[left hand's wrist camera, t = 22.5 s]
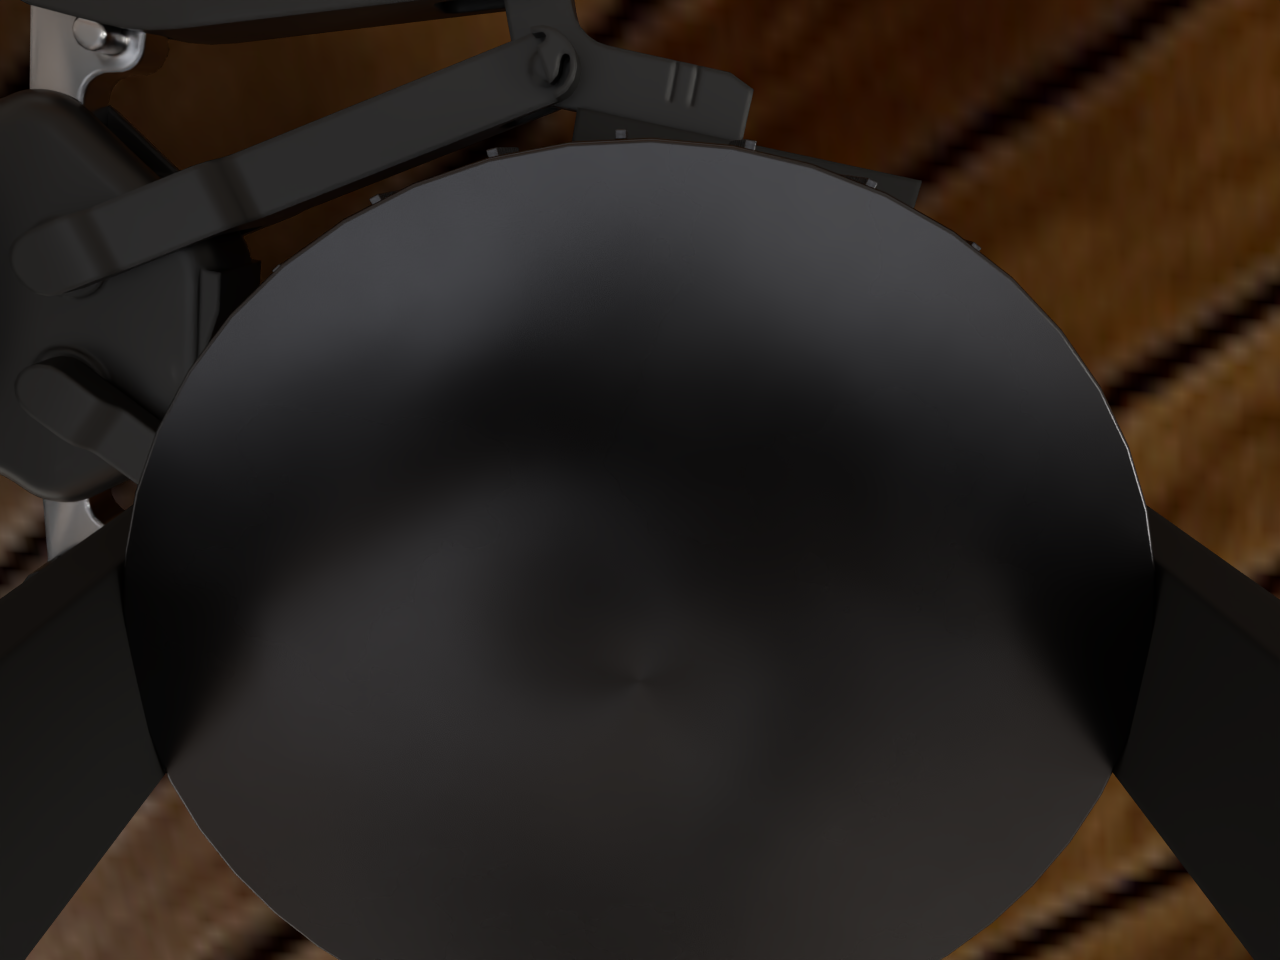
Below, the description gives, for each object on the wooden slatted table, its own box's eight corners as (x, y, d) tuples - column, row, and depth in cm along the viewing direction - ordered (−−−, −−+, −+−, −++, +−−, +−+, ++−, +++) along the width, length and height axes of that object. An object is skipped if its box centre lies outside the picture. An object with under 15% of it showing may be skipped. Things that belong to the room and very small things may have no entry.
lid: (56, 647, 12) (-64, 749, 10) (551, -109, 9) (524, -184, 7) (692, 1022, 15) (701, 1166, 13) (1253, 526, 12) (1385, 608, 10)
